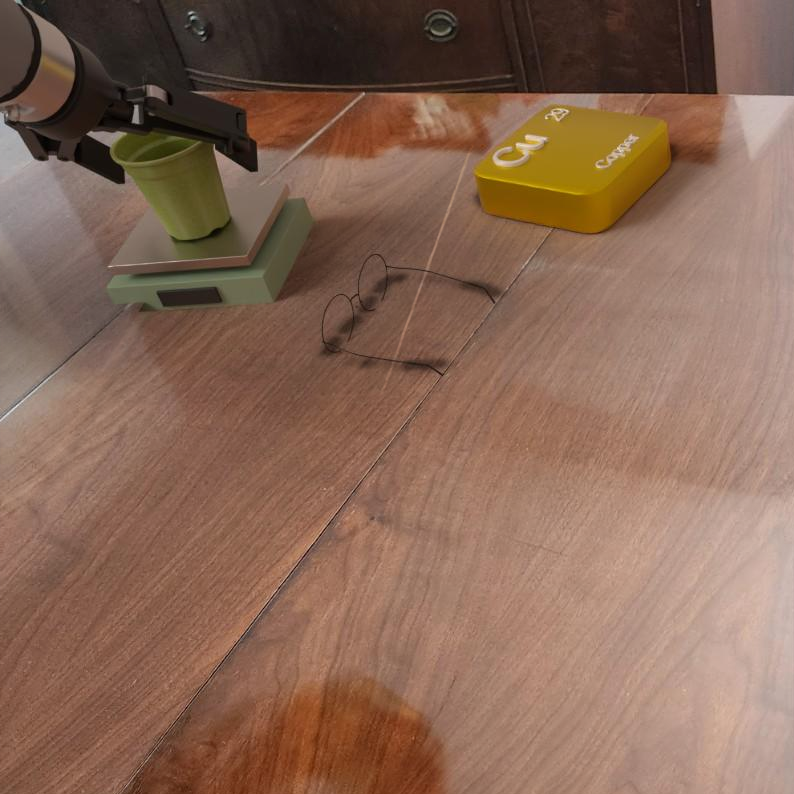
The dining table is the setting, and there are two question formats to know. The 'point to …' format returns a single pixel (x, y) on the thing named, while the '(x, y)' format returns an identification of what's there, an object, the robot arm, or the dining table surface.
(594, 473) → the dining table surface
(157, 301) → the scale
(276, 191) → the weighing pan
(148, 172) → the plant pot
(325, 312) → the eyeglasses
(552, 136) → the element tile
